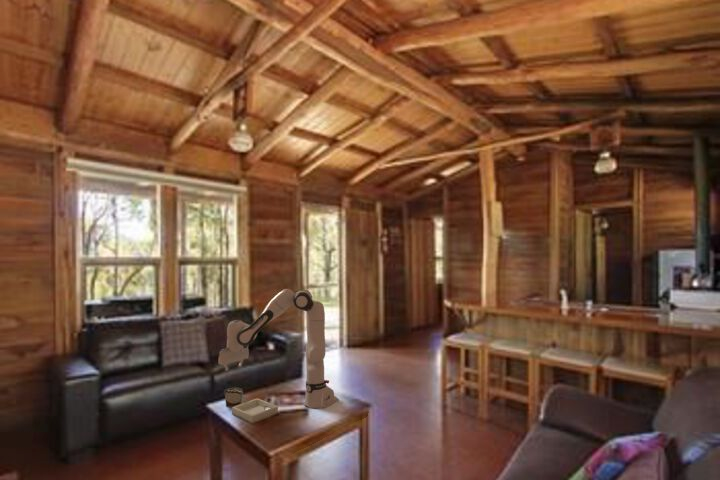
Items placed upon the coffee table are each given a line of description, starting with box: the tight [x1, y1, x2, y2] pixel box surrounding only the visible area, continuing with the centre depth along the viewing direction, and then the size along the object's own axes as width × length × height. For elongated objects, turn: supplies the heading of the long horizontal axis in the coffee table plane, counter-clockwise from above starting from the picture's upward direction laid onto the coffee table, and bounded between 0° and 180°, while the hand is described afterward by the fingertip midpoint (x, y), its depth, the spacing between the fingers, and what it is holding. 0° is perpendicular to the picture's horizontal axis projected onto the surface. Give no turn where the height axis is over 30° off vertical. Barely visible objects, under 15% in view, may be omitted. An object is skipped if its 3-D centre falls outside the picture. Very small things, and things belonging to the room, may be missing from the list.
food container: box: [223, 387, 244, 408], centre depth 256 cm, size 12×6×10 cm, turn 77°
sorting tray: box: [231, 397, 279, 424], centre depth 243 cm, size 18×20×4 cm
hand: (233, 368), depth 255 cm, fingers open, 8 cm apart
